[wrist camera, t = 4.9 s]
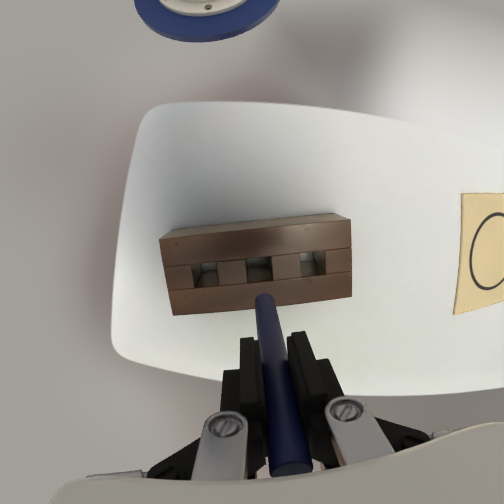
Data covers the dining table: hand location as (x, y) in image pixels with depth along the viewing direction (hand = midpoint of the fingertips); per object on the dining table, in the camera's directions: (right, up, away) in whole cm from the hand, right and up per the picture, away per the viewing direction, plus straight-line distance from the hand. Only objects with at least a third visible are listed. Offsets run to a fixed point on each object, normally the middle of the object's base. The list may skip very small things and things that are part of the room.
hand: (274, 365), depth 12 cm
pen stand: (0, +4, +19) cm, 20 cm away
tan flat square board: (+32, +5, +20) cm, 38 cm away
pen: (0, +2, +7) cm, 8 cm away
